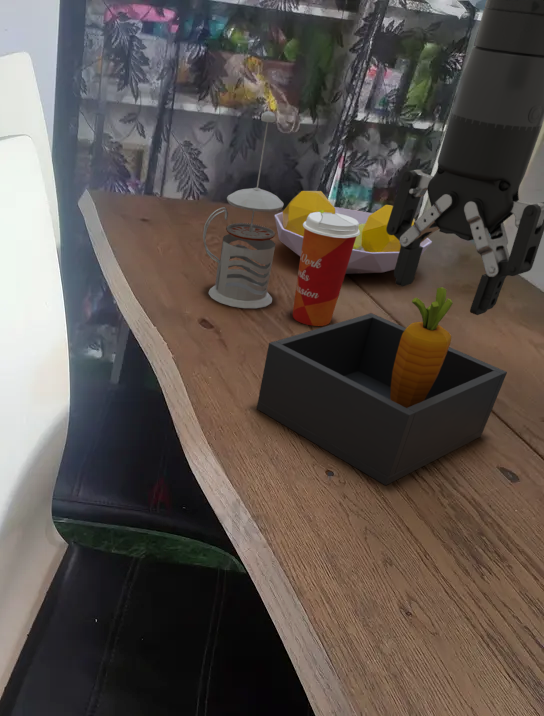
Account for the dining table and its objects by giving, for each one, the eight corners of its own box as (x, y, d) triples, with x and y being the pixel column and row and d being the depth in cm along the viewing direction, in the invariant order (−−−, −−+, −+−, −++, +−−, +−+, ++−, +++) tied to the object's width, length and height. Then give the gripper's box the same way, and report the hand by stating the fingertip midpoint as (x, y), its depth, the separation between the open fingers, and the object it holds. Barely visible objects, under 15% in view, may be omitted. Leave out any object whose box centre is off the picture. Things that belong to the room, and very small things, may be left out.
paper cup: (280, 306, 110) (299, 208, 101) (330, 309, 110) (353, 212, 102) (291, 327, 103) (312, 225, 95) (344, 330, 104) (369, 229, 96)
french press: (276, 310, 108) (312, 121, 93) (198, 304, 107) (221, 112, 92) (268, 287, 116) (300, 108, 101) (195, 281, 115) (216, 100, 100)
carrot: (402, 440, 78) (447, 304, 69) (366, 419, 81) (405, 286, 72) (430, 429, 81) (477, 296, 72) (395, 409, 84) (436, 279, 75)
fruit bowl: (334, 231, 145) (348, 170, 138) (450, 276, 129) (472, 209, 122) (229, 248, 130) (239, 180, 123) (346, 301, 114) (364, 226, 107)
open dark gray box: (354, 373, 93) (371, 312, 88) (481, 436, 83) (507, 371, 78) (256, 408, 83) (268, 342, 78) (385, 485, 73) (409, 415, 68)
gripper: (598, 128, 61) (524, 316, 70) (449, 98, 69) (401, 270, 79) (556, 132, 57) (483, 331, 66) (402, 100, 65) (358, 281, 75)
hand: (439, 297), depth 73 cm, fingers open, 8 cm apart
